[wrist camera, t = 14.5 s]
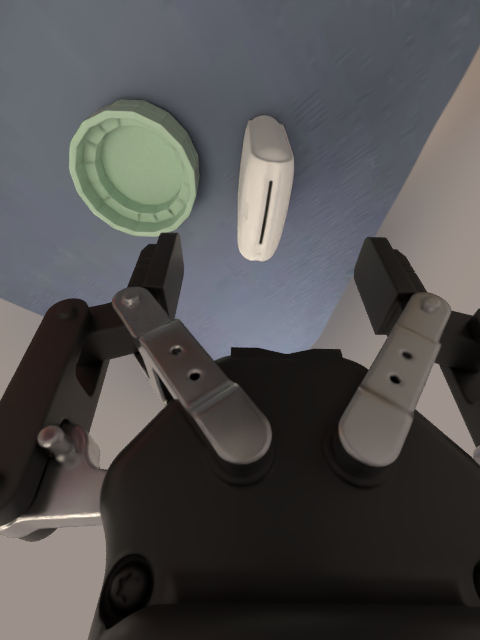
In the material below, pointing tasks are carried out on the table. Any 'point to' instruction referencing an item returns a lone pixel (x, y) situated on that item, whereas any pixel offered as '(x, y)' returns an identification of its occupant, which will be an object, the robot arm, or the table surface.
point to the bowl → (135, 168)
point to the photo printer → (263, 187)
